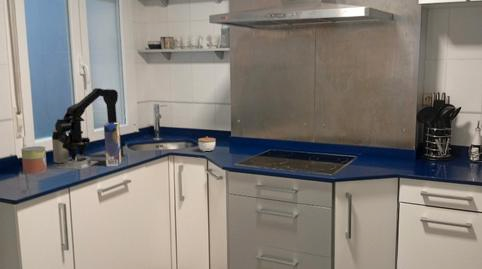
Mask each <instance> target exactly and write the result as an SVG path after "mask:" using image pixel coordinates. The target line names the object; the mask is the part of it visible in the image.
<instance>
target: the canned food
mask: <svg viewBox="0 0 482 269" xmlns="http://www.w3.org/2000/svg"><path fill="white" fill-rule="evenodd" d="M20 150H21V157H22V158H21V162H22V170H23V171H22V173H23V174H26V175H36V174H42V173H46V172H47V171H48V169H47V168H48V167H47V157H46V156H47V155H46V153H47V152H46V147H45V146H41V145H40V146H35V145H34V146H27V147H23V148H21V149H20Z"/></svg>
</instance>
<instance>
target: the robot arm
mask: <svg viewBox="0 0 482 269" xmlns="http://www.w3.org/2000/svg"><path fill="white" fill-rule="evenodd" d="M99 97H102V99H103V101H104V103H105V105H106V112H107V113H106V114H107V123H118V120H117V108H116V106H117V105H116V104H117V102H118V98H119V93H118V91H117V90H116V89H112V88H111V89H108V88H107V89H104V88H97V87H96V88H93V90H91V91H90V92H89V93H88V94H87V95H86V96H85V97H83V98H82V99H81V100H80V101H78V102H77V103H74V104H72V105H70V106H69V107H67V110H66V113H65V115H64V116H63V118H62V119H60V118H59V119H56V122H55V125H54V127H55V129H54V130H56V131H57V132H68V133H67V136H64V135H62V136H59V141H60V142H62V144H63V145H62V146H63V148H65V149H67V150H68V153H69V154H70V158H71V157H72V159H73V160H75V158H76V155H77V153H78V152H79V153H78V155H83V156H84V153H85V152H86V151H85V150H86V149H87V146H88V145H89V143H91V142H90V141H91V140H90V138H89V137H86V136H85V137H82V134H84V131H82V122H84V121H85V119H84V118H83V117H82V116H83V114H84V113H85V110H86V109H87V108H88V107H89V106H90V105H92V103H93V102H95V101H96V100H97V99H98V98H99ZM124 147H126V142H125V141H124V140H123V139H122V136H121V134H120V149H121V158H123V157H124V156H125V154H124Z"/></svg>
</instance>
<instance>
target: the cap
mask: <svg viewBox="0 0 482 269" xmlns="http://www.w3.org/2000/svg"><path fill="white" fill-rule="evenodd" d="M83 157H84V154H83V155H80V154H76V158H75V160H73V159H72V161H82V160H83ZM70 158H72V157H71V156H70Z"/></svg>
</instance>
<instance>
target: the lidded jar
mask: <svg viewBox="0 0 482 269" xmlns="http://www.w3.org/2000/svg"><path fill="white" fill-rule="evenodd" d="M197 140H198V148H199V149H200V151H201V150H202V151H211V150H212V151H214V150H215V148H216V138H214V137H209V136H205V137H201V138H198V139H197ZM202 151H201V152H202Z"/></svg>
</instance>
